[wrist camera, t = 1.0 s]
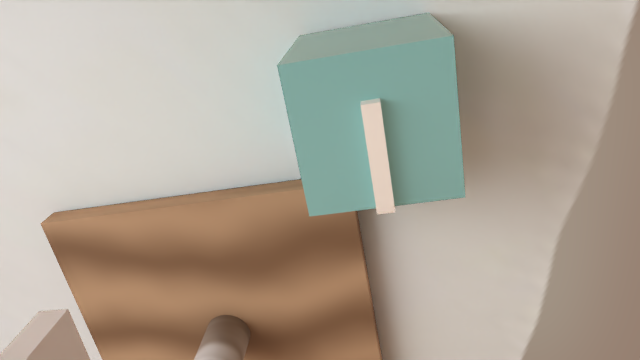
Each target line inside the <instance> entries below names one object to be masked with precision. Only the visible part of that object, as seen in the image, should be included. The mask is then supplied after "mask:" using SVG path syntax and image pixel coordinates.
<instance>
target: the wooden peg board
mask: <svg viewBox="0 0 640 360" xmlns="http://www.w3.org/2000/svg"><path fill="white" fill-rule="evenodd" d="M41 226H42V228H43V230H44V232H45V234H46V237H47V239H48V241H49V243H50V245H51V248H52V250H53V252H54V254H55V256H56V258H57V261H58V263H59V265H60V267H61V269H62V272H63V274H64V276H65V278H66V280H67V283H68V285H69V287H70V289H71V291H72V294H73V296H74V298H75V300H76V302H77V305H78V307H79V309H80V311H81V313H82V316H83V318H84V320H85V322H86V324H87V327H88V329H89V331H90V333H91V335H92V338H93V340H94V342H95V344H96V346H97V348H98V351H99V353H100V355H101V357H102V359H103V360H382V355H381V349H380V343H379V338H378V332H377V326H376V320H375V314H374V308H373V302H372V296H371V290H370V284H369V279H368V273H367V267H366V261H365V255H364V249H363V243H362V237H361V231H360V225H359V220H358V214H357V211H351V212H342V213H334V214H326V215H318V216H310V217H309V212H308V208H307V203H306V198H305V194H304V189H303V184H302V180H301V179H300V180H292V181H285V182H278V183H270V184H263V185H255V186H248V187H241V188H233V189H226V190H218V191H211V192H203V193H196V194H189V195H181V196H174V197H166V198H159V199H152V200H144V201H137V202H129V203H122V204H114V205H107V206H100V207H92V208H85V209H77V210H70V211H63V212H55V213H53V214H52V215H50V216H49V217H48V218H47V219H46V220H44V221H43V222H42V223H41Z"/></svg>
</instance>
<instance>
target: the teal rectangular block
mask: <svg viewBox="0 0 640 360" xmlns="http://www.w3.org/2000/svg"><path fill="white" fill-rule="evenodd" d="M277 67H278V72H279V76H280V81H281V86H282V90H283V95H284V100H285V104H286V109H287V114H288V119H289V123H290V128H291V133H292V137H293V142H294V147H295V151H296V156H297V161H298V166H299V170H300V175H301V180H302V184H303V189H304V194H305V198H306V203H307V208H308V212H309V217H310V216H318V215H326V214H334V213H342V212H351V211H359V210H367V209H375V208H376V211H377V215H378V214H386V213H394V212H395V206H399V205H407V204H415V203H423V202H431V201H439V200H448V199H456V198H464V197H465V186H464V172H463V158H462V144H461V130H460V117H459V103H458V89H457V75H456V62H455V48H454V35H453V34H451V33H450V32H449V31H448V30H447V29H446V28H445V27H444V26H443V25H442V24H441V23H439V22H438V21H437V20H436V19H435V18H434V17H433V16H432V15H431V14H430V13H425V14H419V15H413V16H408V17H402V18H396V19H391V20H385V21H379V22H374V23H368V24H362V25H357V26H351V27H345V28H340V29H334V30H328V31H323V32H317V33H311V34H306V35H300V36H299V37H298V38H297V40H296V41H295V42H294V44H293V45H292V46H291V48H290V49H289V50H288V52H287V53H286V54H285V56H284V57H283V58H282V60H281V61H280V62H279V63H278V65H277Z"/></svg>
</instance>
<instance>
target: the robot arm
mask: <svg viewBox="0 0 640 360" xmlns="http://www.w3.org/2000/svg"><path fill="white" fill-rule="evenodd" d="M0 360H90V358H89V356H88V353H87V351H86V349H85V347H84V344H83V342H82V340H81V337H80V335H79V333H78V331H77V328H76V326H75V324H74V322H73V319H72V317H71V315H70V312H69V310H68V309H61V310H49V311H39V312H38V313H37V314H36V315H35V316H34V318H33V319H32V320H31V321H30V322H29V323H28V324H27V325H26V326H25V327H24V329H23V330H22V331H21V332H20V333H19V334H18V335H17V336H16V337H15V338H14V340H13V341H12V342H11V343H10V344H9V345H8V346H7V347H6V348H5V349H4V350H3V352H2V353H1V354H0Z"/></svg>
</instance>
